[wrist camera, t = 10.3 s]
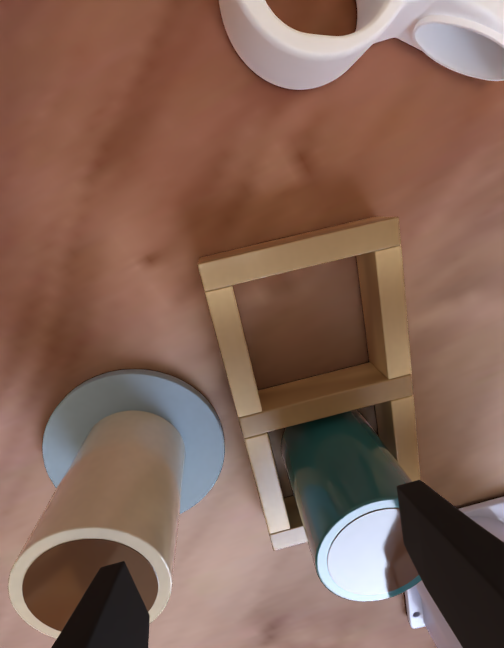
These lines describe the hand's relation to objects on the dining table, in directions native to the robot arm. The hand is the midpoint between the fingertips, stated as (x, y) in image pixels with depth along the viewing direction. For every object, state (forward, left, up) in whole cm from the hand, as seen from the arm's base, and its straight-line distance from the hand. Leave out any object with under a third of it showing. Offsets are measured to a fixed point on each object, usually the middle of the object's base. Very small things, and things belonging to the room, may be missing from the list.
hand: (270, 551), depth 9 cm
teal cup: (-5, -4, -10) cm, 12 cm away
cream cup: (-2, +6, -9) cm, 11 cm away
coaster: (-2, +6, -10) cm, 12 cm away
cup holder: (-1, -4, -10) cm, 11 cm away
